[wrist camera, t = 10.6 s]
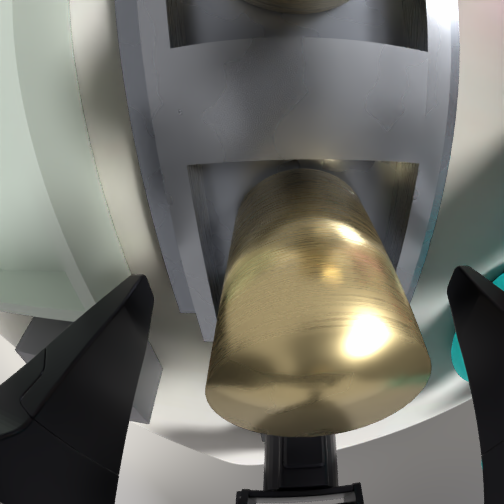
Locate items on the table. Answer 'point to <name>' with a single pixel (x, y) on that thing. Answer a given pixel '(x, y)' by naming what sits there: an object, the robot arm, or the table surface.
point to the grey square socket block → (49, 329)
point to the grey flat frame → (287, 120)
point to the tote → (49, 173)
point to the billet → (311, 315)
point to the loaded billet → (297, 5)
